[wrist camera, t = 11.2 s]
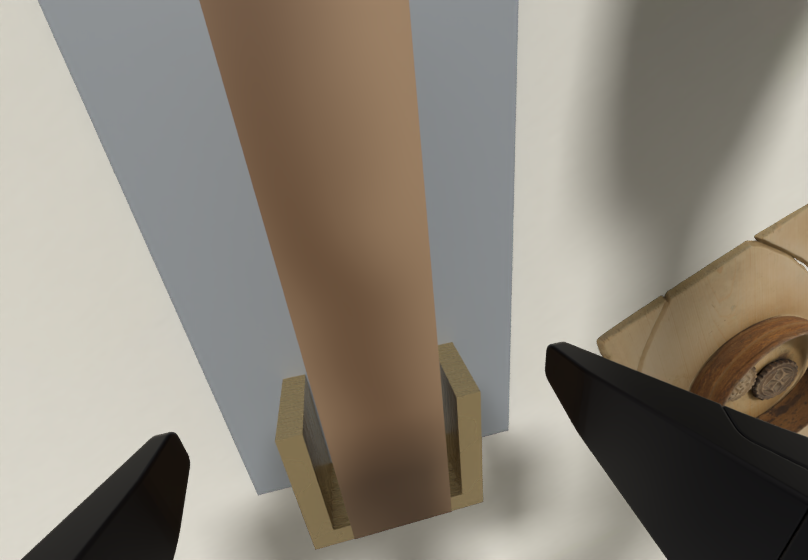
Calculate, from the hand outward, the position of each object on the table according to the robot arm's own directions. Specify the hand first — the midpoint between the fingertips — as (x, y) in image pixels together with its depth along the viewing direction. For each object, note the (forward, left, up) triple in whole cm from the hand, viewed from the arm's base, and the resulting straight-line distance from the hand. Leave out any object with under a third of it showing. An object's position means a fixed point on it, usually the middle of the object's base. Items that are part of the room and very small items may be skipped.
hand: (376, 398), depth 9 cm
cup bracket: (0, +8, -7) cm, 11 cm away
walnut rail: (0, 0, -7) cm, 7 cm away
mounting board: (0, -1, -8) cm, 8 cm away
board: (-25, +14, -9) cm, 30 cm away
